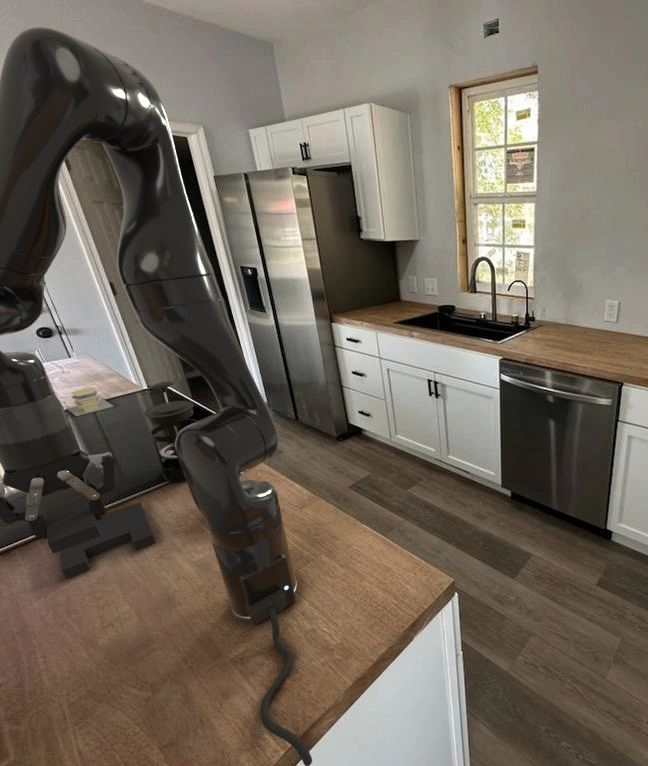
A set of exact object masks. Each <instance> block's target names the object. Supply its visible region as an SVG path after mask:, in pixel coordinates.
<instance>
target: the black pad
mask: <svg viewBox="0 0 648 766" xmlns="http://www.w3.org/2000/svg"><path fill="white" fill-rule="evenodd" d="M44 515H45V520H46V522H47V539H46V541H47V545H48V547H49V549H50V550H51V553H52V554H56V553H60V551H62V550H64V549H67V548H70V547H72V546H75V545H78V544H80V543H83V542H86V541H88V540H91V539H94V538H96V537H99V536H101V535H100V530H99V526H98V522H97V520H96V518H95V516H94V514H93V512H92V510H91V507H90V505H89V503H88V498H87V497H84V498H81V499H78V500H74V501H71V502H68V503H65V504H62V505H59V506H55V507H52V508H50V509H46V510H45V511H44Z"/></svg>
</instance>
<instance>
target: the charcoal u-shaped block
mask: <svg viewBox="0 0 648 766" xmlns="http://www.w3.org/2000/svg"><path fill="white" fill-rule="evenodd" d="M97 522H98V526H99V530H100V535H101V536H99V537H96V538H94V539H91V540H88V541H86V542H83V543H80V544H78V545H75V546H72V547H70V548H67V549H64V550H62V551H59V553H60V554H59V555H60V564H61V572H62V574H63V576H64V578H65V580H68V579H71V578H73V577H76V576H79V575H81V574H84V573H86V572H88V571H90V563H89V558H91V557H93V556H97V555H98V554H101V553H104V552H106V551H109V550H111V549H114V548H117V547H119V546H122V545H124V544H127V543H130V542H132V544H133V547H134V549H135V551H136V552H137V551H140V550H141V549H144V548H147V547H149V546H152V545H154V544H156V543H157V541H156V540H155V536H154V533H153V531H152V528H151V526H150V523H149V521H148V518H147V515H146V513H145V510H144V508H143V505H142V503H141V501H138V502H136V503H133V504H130V505H128V506H124V507H121V508H119V509H116V510H113V511H110V512H106V514H105V515H102V519H101V520H98V521H97Z"/></svg>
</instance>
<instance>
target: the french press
mask: <svg viewBox="0 0 648 766" xmlns="http://www.w3.org/2000/svg"><path fill="white" fill-rule="evenodd" d="M174 385H175V382H173V381H161V382H157V383H154V384H152V385H151V386H150V387H149V388H150V389H151V390H160V391H161V393H162V394H163V396H164V399H165V402H164V403H160V404H157V405H154V406H152V407H150V408H148V409H146V410H145V411H144V413H143V416H144V417H145V418H147V419H148V422H149V424H151V425H154V426H155V427H154V428H152V429H151V430H150V433H149V434H150V436H151V439H152V442H153V445H154V448H155V449H154V450H155V452H156V454H157V457H158V460H159V463H160V466H161V469H162V473H163V478H164V480H165V481H166V482H170V483H181V482H187V481H186V479H185V476H184V474H183V471H182V469H181V467H180V464H179V461H178V458H177V455H176V449H175V440H176V436H177V434H178V433H179V431H178V429H177V426H183V425H190V424H193V423H195V422H197V421H198V420H196V419H194V418H191V417H192V416H193V415H194V410H193V408H194V405H195V403H194V402H193V401H192V402H191V401H189V400H175V401H169V399H168V396H167V389H168V388H170V387H172V386H174ZM165 429H166V432H167V435H163V436H161V435H156V434H157V433H159V432H161V431H163V430H165ZM157 442H159V443H166V442H167V443H169V442H170V444H168V445H166V446H164V447H163V448H162V449H161V450H159V447H158V445H157ZM162 459H164V460H162Z"/></svg>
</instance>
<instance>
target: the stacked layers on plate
mask: <svg viewBox="0 0 648 766" xmlns="http://www.w3.org/2000/svg"><path fill="white" fill-rule="evenodd" d="M96 389H97V388H96V387H95V386H92V387H91V386H90V387H85V388H81V389H78V390H74V391H71V392H70V393H69V394H70V395H72V396H71V399H72V400H74V402H73V404H74V406H73V405H72V406H69V407H66V410H67V411H69V412H70V413H72V414H73V415H74V416H75V417H79V416H84V415H87V414H90V413H95V412H98V411H101V410H106V409H110V408H114V407H115V406H114V405H113V404H111V403H110V402H109V401H107V400H105V399H104V398H102V399H100V397H99V396H98V391H97V390H96Z"/></svg>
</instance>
